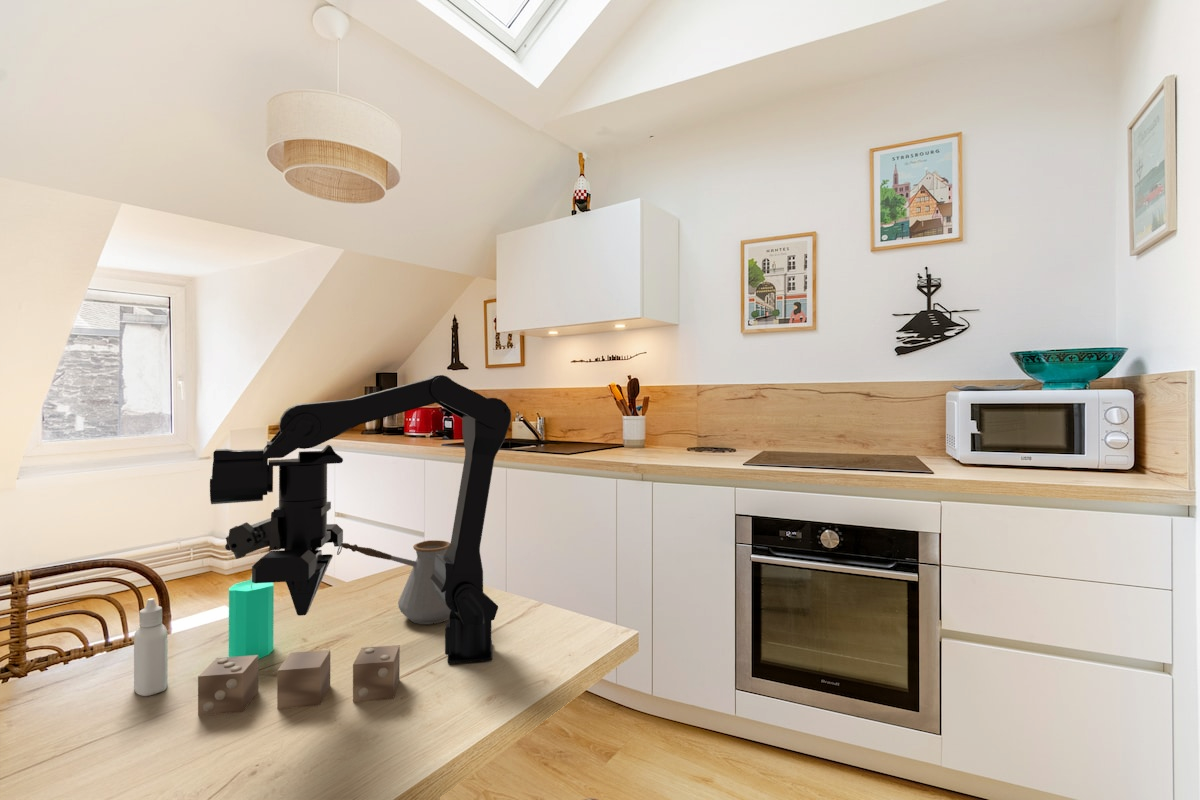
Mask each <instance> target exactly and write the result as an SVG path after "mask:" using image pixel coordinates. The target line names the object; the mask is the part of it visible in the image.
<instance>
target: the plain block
mask: <svg viewBox="0 0 1200 800" xmlns="http://www.w3.org/2000/svg"><path fill="white" fill-rule="evenodd" d="M276 671H277V672H276V673H277V674H276V675H277V677H276V679H277V682H276V683H277V685H276V686H277V687H276V691H277V697H276V699H277V703H276V704H277V706H276V707H277V710H280V709H282V710H283V709H291V708H292V709H294V708H303V707H316V706H321V704H322V702H323V700H324V698H325V697H326V695H327V693H328V691H329V689H330V687H331V649H327V650H326V649H324V650H323V649H322V650H313V651H312V650H311V651H309V650H308V651H299V652H298V651H297V652H295V651H294V652H290V653H289V654H288V655H287V657H286V659H284V661H282V664H281V665H280V666H279V668H278V669H277V670H276Z"/></svg>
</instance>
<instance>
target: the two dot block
mask: <svg viewBox="0 0 1200 800" xmlns="http://www.w3.org/2000/svg"><path fill="white" fill-rule="evenodd" d="M400 650H401V649H400V645H399V644H396V645H393V644H392V645H381V646H369V647H368V646H365V647H361V648H360V650H359V652H358V654H357V656H356V658H355V660H354V662H353V664H352V702H353V703H359V702H360V703H361V702H371V701H372V702H373V701H384V700H394V699H395V695H396V693H397V689H398V686H399V682H400V673H401V672H400V659H401V658H400V657H401V656H400V652H401V651H400Z"/></svg>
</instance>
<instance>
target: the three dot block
mask: <svg viewBox="0 0 1200 800" xmlns="http://www.w3.org/2000/svg"><path fill="white" fill-rule="evenodd" d="M258 692H259V659H258V655H251V656H237V657H229V656H226V657H223V656H222V657H216V658H215V659H214V660H212V662H211V663H210V664H209V665H208V666H207V667H206V668H205V669H204V670H203V671H202V672H201V673H200V674H199V675H198V676H197V698H198V699H197V717H202V716H213V715H214V716H215V715H223V714H235V713H236V714H237V713H243V712H244V711H245V709H246V708H247V707H248V706H249V704H251V702H252V701H253V699H254V697H256V695H257V694H258Z"/></svg>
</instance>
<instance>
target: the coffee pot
mask: <svg viewBox="0 0 1200 800" xmlns="http://www.w3.org/2000/svg"><path fill="white" fill-rule="evenodd" d="M450 543H451V542H449V541H445V540H437V539H436V540H430V539H429V540H424V541H421V542H417V543H415V544H414V545H413V550H414V551H416V552H415V553H416V560H411V559H408V558H403V557H399V556H395V555H392V554H389V553H386V552H383V551H381V550H376V549H374V548H371V547H362V546H358V545H357V544H350V543H348V542H347V543H346V542H343V543H342V544H341V545H340V546H339V547H337V553H336V555H337V556H339V555H340V554H341V552H342V550H343V549H346V550H348V549H349V550H351V551H352V552H358V553H361V554H363V555H365V556H368V557H374V558H378V559H383V560H388V561H393V562H397V563H399V564H404V565H407V566H411V567H412V568H411V571H410V573H409V576H408V578H407V581H406V583H405V585H404V587H403V589H402V592H401V595H400V596H399V599H398V602H397V604H398V608H399V611H400V612H401V614H402V615H404V616H405V617H406V618H407V619H409V621H410V622H412V623H414V624H417V625H418V624H419V625H433V623H434V624H440V623H443V621H444V622H447V621H449V617H450V611H452V610H450V609H449V608H448V606H447V605H446V604H445V603H444V602H443V600H442V599H441V598H440V597H439V595H438V594H437V593H436V591H435V588H434V583H433V582H432V581H431V579H430V578H431V576H432V574H433V572H434V568H435V554H440V555H444V554H445V553H446V551H447V549H448V547H449V545H450Z"/></svg>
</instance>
